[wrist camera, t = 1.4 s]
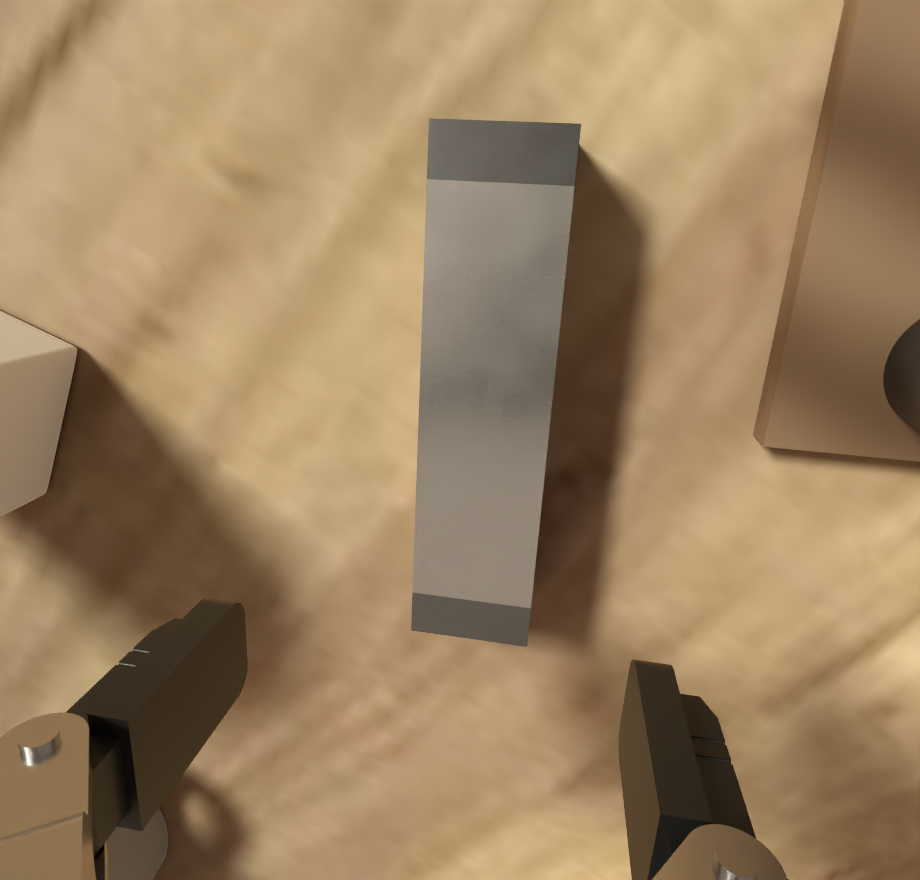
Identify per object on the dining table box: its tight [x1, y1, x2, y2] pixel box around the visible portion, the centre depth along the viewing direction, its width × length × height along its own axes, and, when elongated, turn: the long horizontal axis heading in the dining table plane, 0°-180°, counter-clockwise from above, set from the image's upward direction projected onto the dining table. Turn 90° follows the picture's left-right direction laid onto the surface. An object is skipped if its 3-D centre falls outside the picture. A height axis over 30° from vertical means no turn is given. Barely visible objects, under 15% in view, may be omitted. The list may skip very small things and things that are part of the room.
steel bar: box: [411, 119, 581, 647], centre depth 21 cm, size 16×4×4 cm, turn 177°
